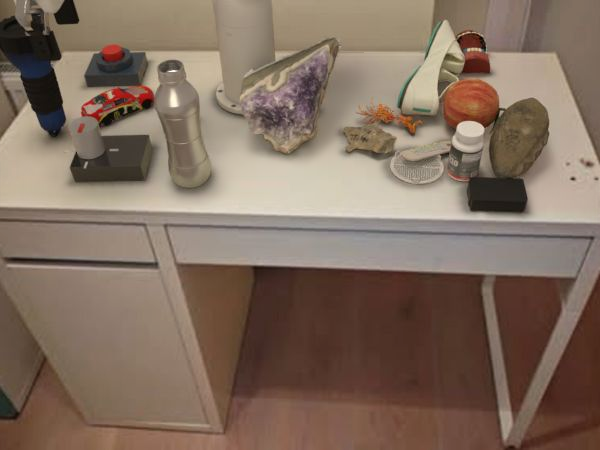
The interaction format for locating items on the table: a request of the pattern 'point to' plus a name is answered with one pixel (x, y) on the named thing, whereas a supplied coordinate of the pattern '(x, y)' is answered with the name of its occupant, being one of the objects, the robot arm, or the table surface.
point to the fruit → (471, 103)
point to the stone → (518, 138)
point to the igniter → (116, 70)
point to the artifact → (369, 138)
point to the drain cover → (417, 180)
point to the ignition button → (112, 53)
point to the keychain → (427, 151)
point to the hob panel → (115, 160)
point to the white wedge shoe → (432, 73)
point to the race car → (118, 103)
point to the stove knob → (87, 137)
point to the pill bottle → (466, 151)
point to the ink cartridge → (496, 194)
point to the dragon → (389, 117)
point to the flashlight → (34, 75)
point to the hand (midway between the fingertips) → (59, 40)
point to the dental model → (474, 52)
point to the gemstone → (289, 95)
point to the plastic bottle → (181, 125)
